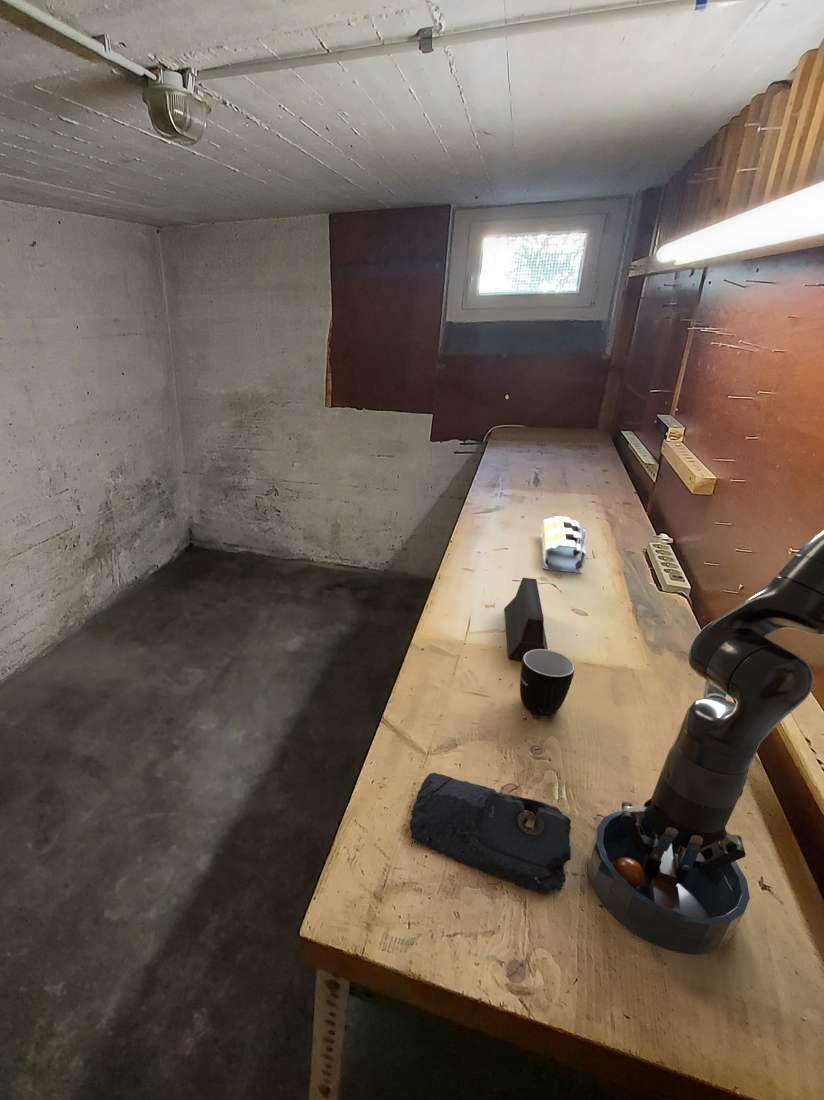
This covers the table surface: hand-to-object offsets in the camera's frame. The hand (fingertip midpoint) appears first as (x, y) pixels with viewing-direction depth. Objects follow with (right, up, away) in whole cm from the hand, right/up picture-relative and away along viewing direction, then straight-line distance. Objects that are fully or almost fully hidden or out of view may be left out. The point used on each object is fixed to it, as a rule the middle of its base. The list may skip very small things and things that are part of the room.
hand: (660, 876), depth 74 cm
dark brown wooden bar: (0, 0, 0) cm, 0 cm away
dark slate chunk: (-19, +1, +11) cm, 22 cm away
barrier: (+7, +26, +58) cm, 64 cm away
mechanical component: (+27, +12, +29) cm, 41 cm away
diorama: (+35, +46, +98) cm, 114 cm away
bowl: (0, -2, +1) cm, 3 cm away
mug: (0, +14, +34) cm, 37 cm away
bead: (-4, 0, +1) cm, 4 cm away
